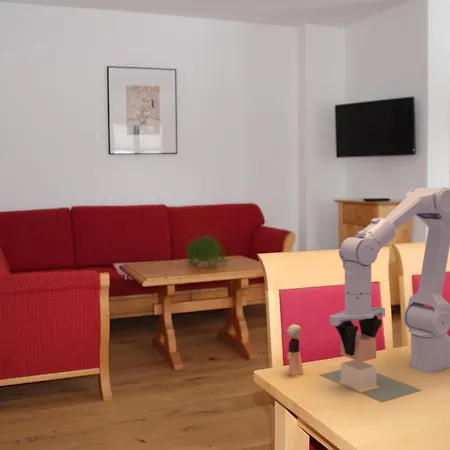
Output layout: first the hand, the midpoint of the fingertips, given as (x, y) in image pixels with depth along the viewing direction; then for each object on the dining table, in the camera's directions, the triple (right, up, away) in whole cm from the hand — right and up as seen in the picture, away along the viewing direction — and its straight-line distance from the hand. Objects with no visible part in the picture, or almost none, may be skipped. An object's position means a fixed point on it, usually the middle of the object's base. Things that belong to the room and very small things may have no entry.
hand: (358, 352), depth 130 cm
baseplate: (+3, -8, +2) cm, 9 cm away
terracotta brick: (0, -1, 0) cm, 1 cm away
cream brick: (0, -7, +1) cm, 7 cm away
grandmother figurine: (-13, -8, +9) cm, 18 cm away
